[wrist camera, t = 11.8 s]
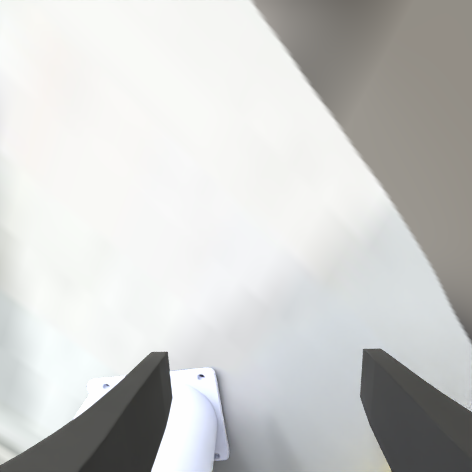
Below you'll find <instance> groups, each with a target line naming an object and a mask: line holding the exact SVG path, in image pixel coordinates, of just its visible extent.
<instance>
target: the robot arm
mask: <svg viewBox="0 0 472 472" xmlns="http://www.w3.org/2000/svg"><path fill="white" fill-rule="evenodd" d="M200 374H201V375H204V377H200V376H199V375H200ZM106 384H108V385H109V386H107V385H106ZM87 391H88V394H89V396H88V397H87V399H86V400H85V402H84V403H83V405H82V406H81V408H80V409H79V411H78V412H77V414H76V415H75V417H74V418H73V420H72V421H71V422H69V423H68V424H66V425H65V426H63V427H62V428H61V429H59V430H58V431H56V432H55V433H53V434H52V435H50V436H48V437H47V438H45V439H44V440H42V441H41V442H39V443H37V444H36V445H34V446H33V447H31V448H29V449H28V450H26V451H25V452H23V453H21V454H20V455H18V456H16V457H14V458H13V459H11V460H9V461H7V462H6V463H4V464H2V465H0V472H212V470H213V462H214V461H222V460H227V459H228V458H229V452H230V450H229V445H228V439H227V434H226V428H225V423H224V417H223V412H222V406H221V400H220V395H219V389H218V384H217V378H216V373H215V371H214V370H213V369H212V368H199V369H189V370H179V371H170V369H169V360H168V352H151V353H150V354H149V355H148V356H147V357H146V358H145V359H143V360H142V361H141V362H140V363H139V364H138V365H137V366H136V367H135V368H134V369H133V370H132V371H131V372H130V373H129V374H127V375H126V376H117V377H107V378H97V379H91V380H90V381H89V382H88V384H87ZM360 398H361V401H362V404H363V407H364V410H365V413H366V415H367V418H368V421H369V424H370V426H371V428H372V431H373V433H374V435H375V437H376V439H377V441H378V443H379V445H380V448H381V450H382V452H383V454H384V456H385V458H386V460H387V462H388V464H389V466H390V468H391V470H392V472H472V412H471V411H469V410H468V409H466V408H465V407H463V406H461V405H460V404H458V403H457V402H455V401H454V400H452V399H451V398H449V397H448V396H446V395H445V394H443V393H442V392H440V391H439V390H437V389H436V388H434V387H433V386H431V385H430V384H429V383H427V382H426V381H424V380H423V379H422V378H420V377H419V376H417V375H416V374H415V373H413V372H412V371H411V370H409V369H408V368H407V367H405V366H404V365H403V364H401V363H400V362H398V361H397V360H396V359H394V358H393V357H392V356H390V355H389V354H388V353H386V352H385V351H383V350H382V349H363V361H362V377H361V392H360ZM215 453H217V454H215Z"/></svg>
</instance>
